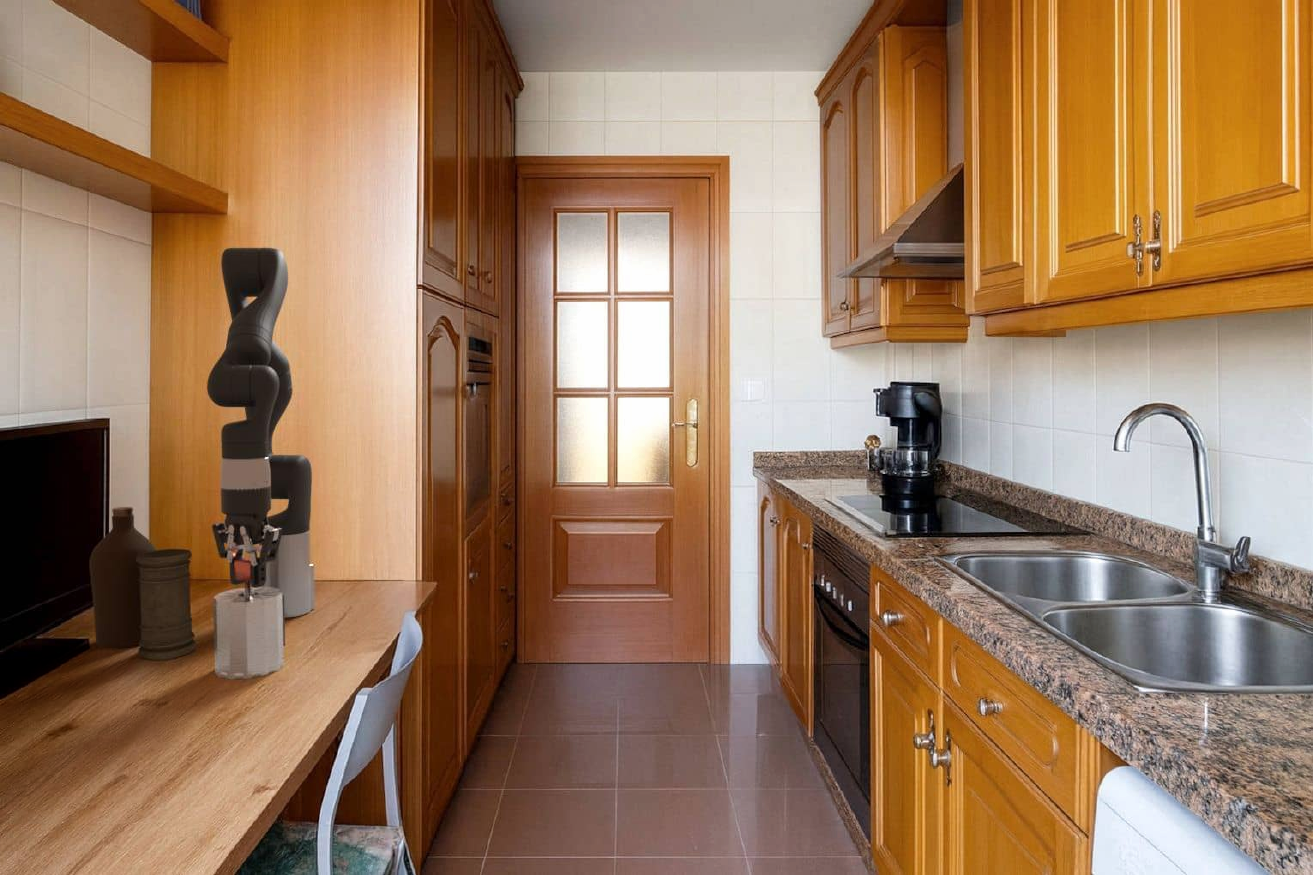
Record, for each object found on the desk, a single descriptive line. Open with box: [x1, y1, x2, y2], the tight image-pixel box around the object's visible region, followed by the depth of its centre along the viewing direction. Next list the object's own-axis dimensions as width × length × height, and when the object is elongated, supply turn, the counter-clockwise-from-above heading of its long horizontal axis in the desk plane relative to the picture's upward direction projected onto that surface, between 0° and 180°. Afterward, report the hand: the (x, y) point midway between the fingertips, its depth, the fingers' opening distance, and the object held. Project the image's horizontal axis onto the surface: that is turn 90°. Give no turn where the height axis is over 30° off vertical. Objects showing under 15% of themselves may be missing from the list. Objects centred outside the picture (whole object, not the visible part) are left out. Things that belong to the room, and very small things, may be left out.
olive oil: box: [88, 506, 157, 650], centre depth 150 cm, size 11×11×25 cm
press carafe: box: [213, 586, 286, 680], centre depth 139 cm, size 12×10×13 cm
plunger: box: [234, 556, 253, 597], centre depth 138 cm, size 7×7×17 cm
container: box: [136, 548, 197, 661], centre depth 145 cm, size 9×9×18 cm
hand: (248, 584), depth 137 cm, fingers closed on plunger, 4 cm apart
